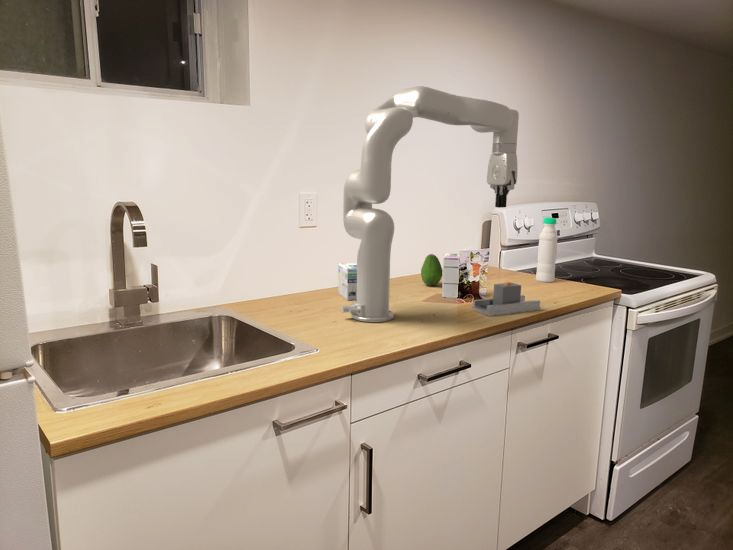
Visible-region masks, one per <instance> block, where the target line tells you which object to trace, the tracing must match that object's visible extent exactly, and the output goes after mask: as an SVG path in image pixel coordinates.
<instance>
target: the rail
mask: <svg viewBox="0 0 733 550" xmlns="http://www.w3.org/2000/svg"><path fill="white" fill-rule="evenodd" d="M471 310H472V311H475V312H477V311H478V313H480V314H482V313H483V314H482V315H484V316H487V315H488V316H487V317H495V316H494V315H497V316H503V315H502V314H505V315H510V314H511V313H513V314H519V313H518V312H521V313H526V312H525V311H529V312H534V311H533V310H537V311H541V310H542V306H541V300H539V299H535V300H534V299H533V300H526V296H525V295H524V294H522V295H521V296H520V302H514V303H505V304H496V305H493V298H484V299H483V298H482V299H474V300H472V305H471ZM511 315H512V314H511Z"/></svg>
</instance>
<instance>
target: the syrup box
mask: <svg viewBox="0 0 733 550" xmlns="http://www.w3.org/2000/svg"><path fill="white" fill-rule="evenodd" d="M460 255H461V254H459V253H444V255H443V256H442V279H441V280H442V283H441V284H442V285H441V287H442V288H441V297H442V298H444V297H446V299H458V298H457V297H458V283H459V263H460ZM460 264H461V263H460Z"/></svg>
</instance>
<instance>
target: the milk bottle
mask: <svg viewBox="0 0 733 550" xmlns="http://www.w3.org/2000/svg"><path fill="white" fill-rule="evenodd" d="M542 221H543V228H542V230H541V232H539V235H538V239H539V240H538V245H537V246H538V248H537V263H536V274H535V280H536V281H537V282H540V283H553V282H554V281H555V272H556V260H557V252H558V239H559V235H558V232H557V230H556V228H555V226H556V224H557V218H555V217H544V218H543V220H542Z"/></svg>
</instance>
